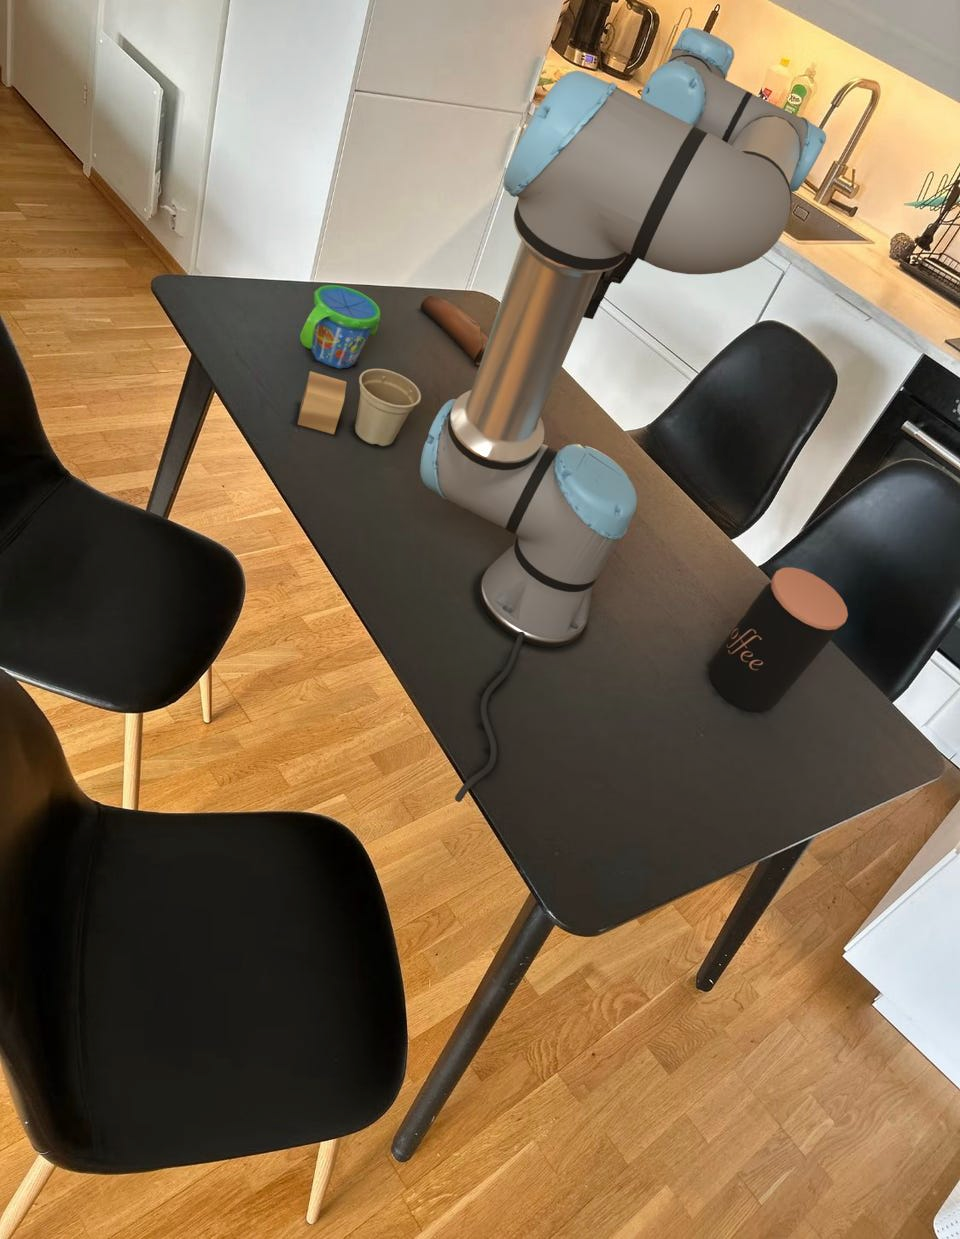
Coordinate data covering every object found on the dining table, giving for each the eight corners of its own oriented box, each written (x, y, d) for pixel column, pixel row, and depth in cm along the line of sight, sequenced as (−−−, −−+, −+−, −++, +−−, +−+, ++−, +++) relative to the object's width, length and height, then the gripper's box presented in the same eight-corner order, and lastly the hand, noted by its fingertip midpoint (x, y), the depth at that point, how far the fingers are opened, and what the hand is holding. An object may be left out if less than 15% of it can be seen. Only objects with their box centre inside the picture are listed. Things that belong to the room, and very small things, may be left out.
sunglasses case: (508, 361, 181) (505, 334, 175) (477, 380, 179) (473, 353, 173) (452, 307, 188) (448, 280, 183) (422, 325, 187) (417, 298, 181)
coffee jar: (700, 649, 140) (766, 557, 128) (766, 669, 142) (837, 580, 130) (710, 704, 132) (782, 611, 120) (780, 724, 134) (857, 635, 122)
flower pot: (410, 431, 153) (427, 385, 148) (396, 461, 146) (413, 414, 141) (353, 408, 152) (368, 360, 147) (337, 437, 145) (352, 388, 140)
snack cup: (349, 335, 168) (365, 281, 162) (387, 370, 164) (405, 316, 158) (275, 344, 158) (289, 286, 151) (313, 381, 154) (329, 324, 147)
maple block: (334, 434, 145) (344, 401, 142) (297, 424, 144) (306, 390, 140) (336, 414, 149) (346, 381, 146) (300, 404, 148) (310, 370, 144)
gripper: (697, 187, 129) (620, 342, 144) (658, 146, 137) (589, 297, 152) (651, 174, 126) (577, 334, 141) (614, 132, 134) (547, 288, 149)
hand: (583, 314), depth 147 cm, fingers closed
